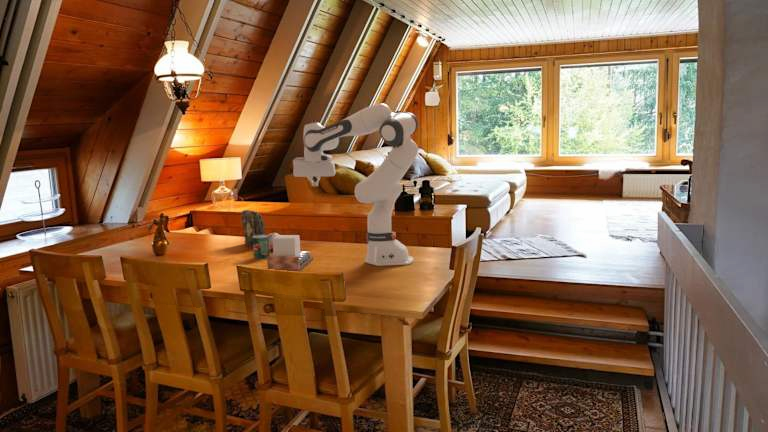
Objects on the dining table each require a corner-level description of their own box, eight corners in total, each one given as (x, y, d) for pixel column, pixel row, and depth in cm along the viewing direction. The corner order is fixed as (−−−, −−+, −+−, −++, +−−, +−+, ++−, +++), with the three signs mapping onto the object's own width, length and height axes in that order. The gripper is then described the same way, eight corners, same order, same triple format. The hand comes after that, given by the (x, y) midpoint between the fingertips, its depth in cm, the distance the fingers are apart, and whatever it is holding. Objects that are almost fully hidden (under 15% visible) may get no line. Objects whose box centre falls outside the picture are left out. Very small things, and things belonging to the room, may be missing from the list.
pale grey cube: (300, 256, 266) (299, 235, 265) (295, 260, 258) (294, 238, 257) (279, 256, 268) (278, 235, 266) (273, 260, 260) (272, 238, 258)
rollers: (310, 257, 280) (310, 251, 279) (298, 267, 259) (298, 261, 259) (286, 257, 281) (286, 250, 281) (272, 267, 261) (271, 261, 260)
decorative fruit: (279, 251, 302) (278, 232, 300) (264, 251, 302) (263, 232, 301) (284, 247, 311) (283, 229, 309) (269, 247, 312) (268, 229, 310)
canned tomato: (273, 256, 290) (272, 235, 288) (263, 260, 283) (262, 238, 281) (260, 255, 293) (259, 234, 292) (250, 259, 286) (249, 237, 285)
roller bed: (313, 259, 280) (312, 245, 279) (297, 273, 255) (297, 258, 254) (285, 259, 282) (284, 245, 281) (267, 273, 257) (266, 257, 256)
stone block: (270, 246, 316) (268, 209, 313) (257, 249, 309) (254, 212, 306) (251, 242, 328) (248, 207, 325) (237, 245, 321) (234, 209, 318)
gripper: (290, 157, 277) (292, 186, 279) (332, 157, 274) (334, 186, 276) (294, 157, 283) (295, 185, 285) (335, 156, 280) (336, 184, 282)
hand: (315, 185), depth 281 cm, fingers closed
